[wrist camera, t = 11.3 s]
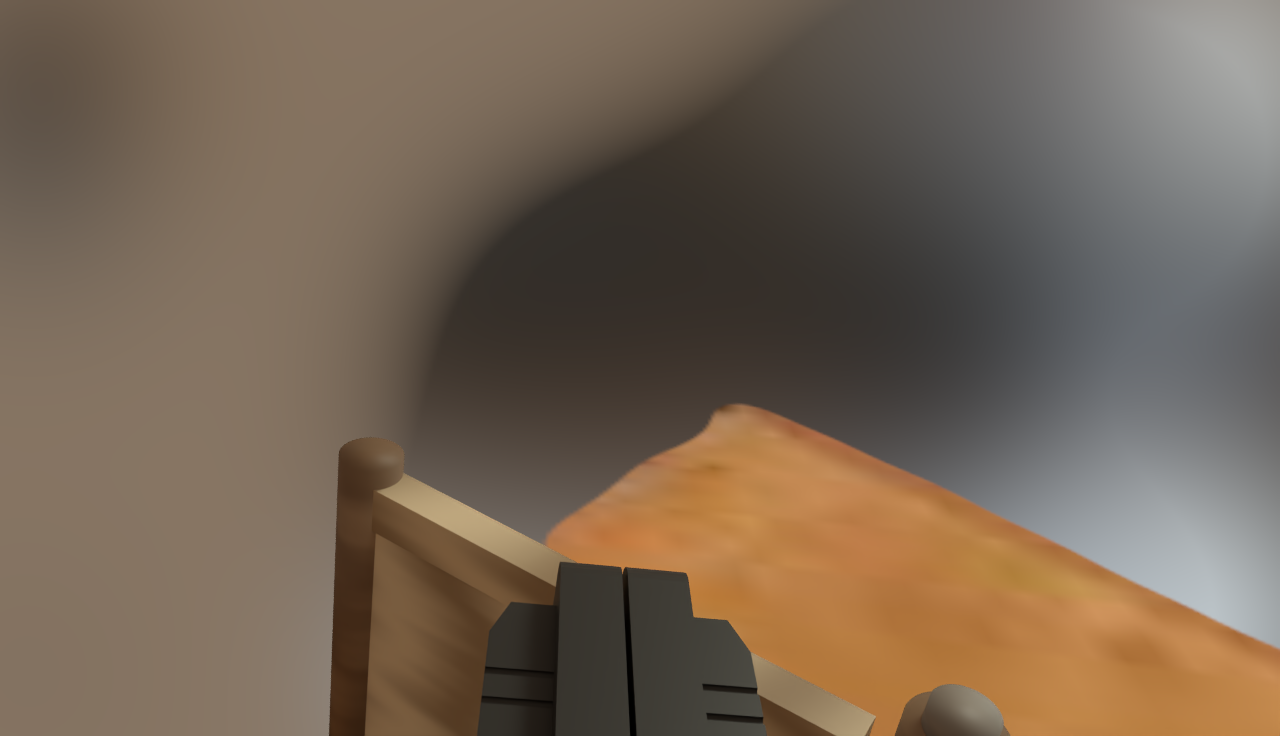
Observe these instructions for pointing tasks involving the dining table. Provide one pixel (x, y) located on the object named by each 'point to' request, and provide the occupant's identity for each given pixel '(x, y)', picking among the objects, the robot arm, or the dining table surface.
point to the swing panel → (461, 610)
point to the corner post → (951, 714)
